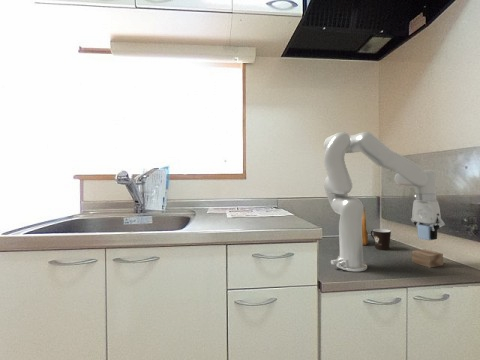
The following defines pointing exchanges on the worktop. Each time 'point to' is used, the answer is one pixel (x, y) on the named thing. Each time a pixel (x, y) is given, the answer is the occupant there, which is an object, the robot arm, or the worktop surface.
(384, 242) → the coffee mug
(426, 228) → the blue block
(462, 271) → the worktop surface
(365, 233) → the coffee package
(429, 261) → the block
